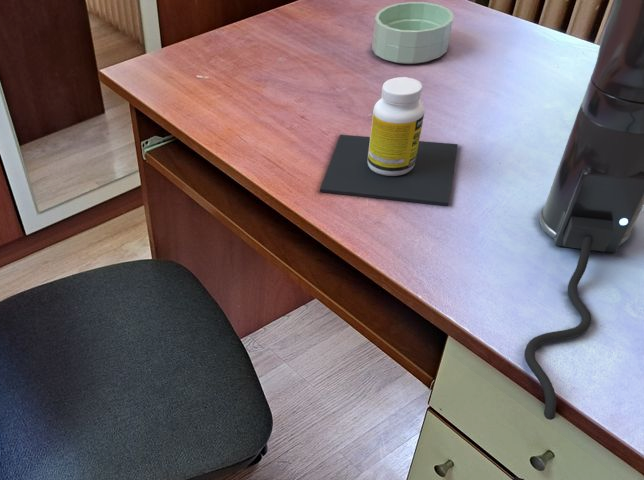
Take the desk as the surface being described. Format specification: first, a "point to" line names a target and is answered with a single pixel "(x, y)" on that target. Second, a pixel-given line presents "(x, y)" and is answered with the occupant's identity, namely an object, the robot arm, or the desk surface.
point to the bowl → (412, 32)
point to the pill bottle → (396, 127)
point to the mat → (415, 186)
